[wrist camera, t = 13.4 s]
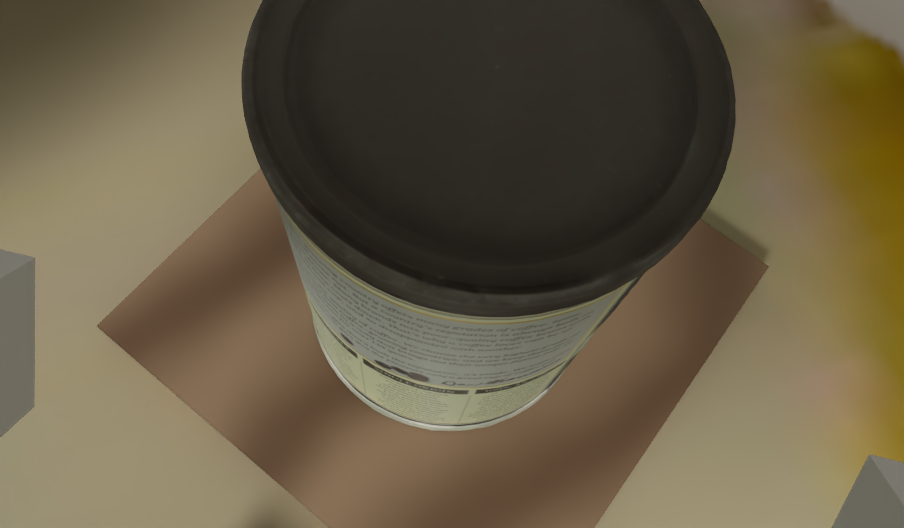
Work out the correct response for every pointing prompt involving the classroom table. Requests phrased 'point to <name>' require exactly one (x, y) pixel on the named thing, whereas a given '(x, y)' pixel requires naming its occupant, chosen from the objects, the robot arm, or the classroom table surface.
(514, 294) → the coffee can
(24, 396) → the robot arm
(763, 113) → the classroom table surface
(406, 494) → the walnut board
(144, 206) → the classroom table surface
